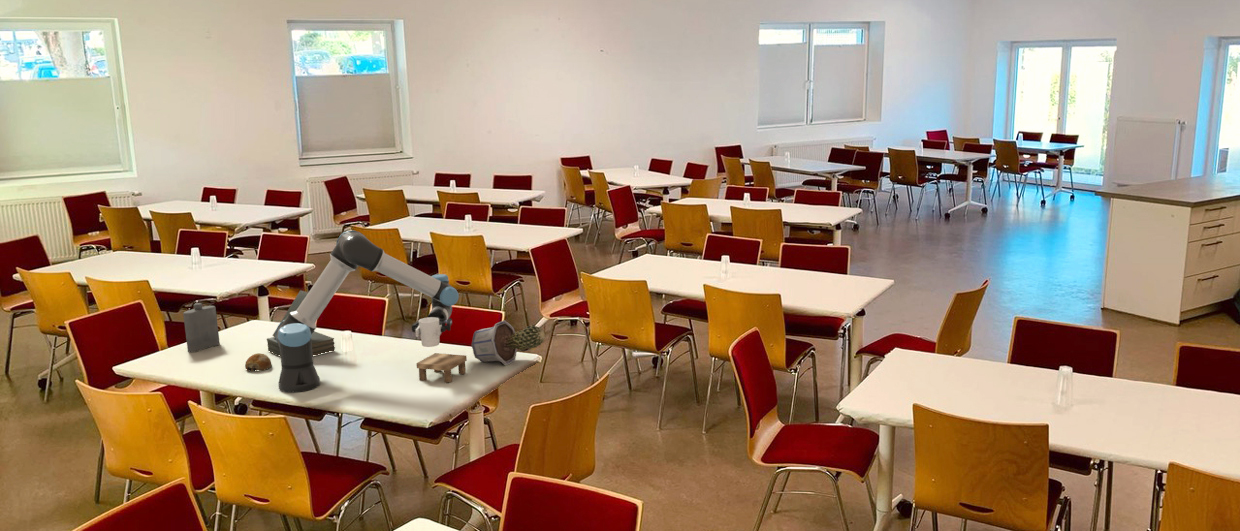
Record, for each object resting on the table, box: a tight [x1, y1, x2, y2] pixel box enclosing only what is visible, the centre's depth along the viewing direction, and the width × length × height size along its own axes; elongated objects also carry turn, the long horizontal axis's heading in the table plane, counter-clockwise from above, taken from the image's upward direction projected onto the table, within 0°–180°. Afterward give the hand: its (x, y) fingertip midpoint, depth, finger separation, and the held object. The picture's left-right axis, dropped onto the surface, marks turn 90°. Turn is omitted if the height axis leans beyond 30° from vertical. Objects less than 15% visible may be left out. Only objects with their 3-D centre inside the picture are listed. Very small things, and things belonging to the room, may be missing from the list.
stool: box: [416, 352, 467, 384], centre depth 375 cm, size 14×14×7 cm
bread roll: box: [244, 353, 273, 372], centre depth 393 cm, size 10×10×8 cm
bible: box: [266, 289, 336, 356], centre depth 413 cm, size 23×20×25 cm
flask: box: [182, 302, 220, 353], centre depth 424 cm, size 15×6×20 cm, turn 149°
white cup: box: [419, 317, 441, 348], centre depth 373 cm, size 8×8×10 cm
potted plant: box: [471, 319, 546, 366], centre depth 389 cm, size 18×18×30 cm
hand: (427, 333), depth 368 cm, fingers closed on white cup, 8 cm apart
